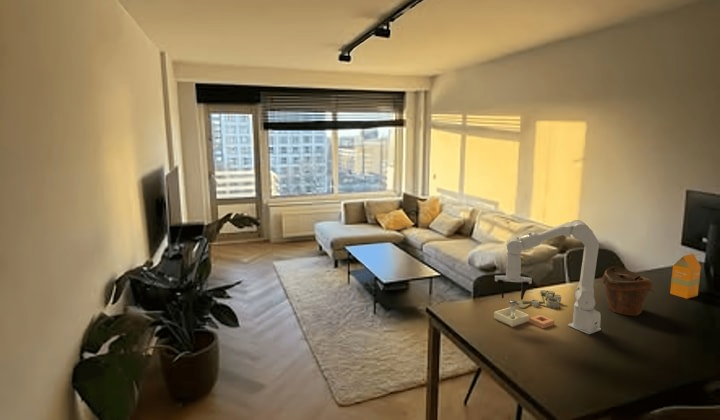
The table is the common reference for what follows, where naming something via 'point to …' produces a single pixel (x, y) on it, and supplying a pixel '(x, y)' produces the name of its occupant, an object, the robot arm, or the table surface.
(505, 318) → the tray
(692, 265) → the orange juice
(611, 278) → the terracotta flower pot
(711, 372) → the table surface
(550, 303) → the pulley system
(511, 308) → the pin
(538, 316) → the block
